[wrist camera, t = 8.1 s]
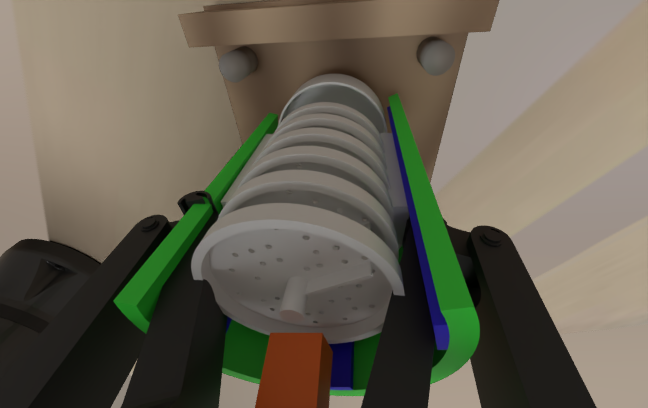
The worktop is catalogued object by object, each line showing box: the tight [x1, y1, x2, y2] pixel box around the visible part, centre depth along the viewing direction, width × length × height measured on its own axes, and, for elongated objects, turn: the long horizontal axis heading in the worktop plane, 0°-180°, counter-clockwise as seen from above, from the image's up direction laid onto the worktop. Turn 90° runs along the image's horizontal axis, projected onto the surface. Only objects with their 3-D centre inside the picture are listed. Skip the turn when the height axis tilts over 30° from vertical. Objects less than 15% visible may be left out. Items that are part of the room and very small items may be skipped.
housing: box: [178, 0, 499, 182], centre depth 19 cm, size 16×15×4 cm
